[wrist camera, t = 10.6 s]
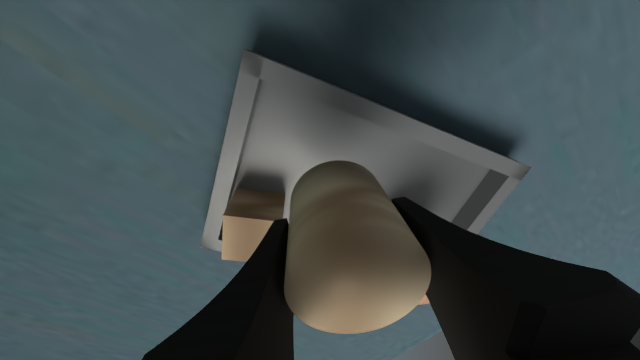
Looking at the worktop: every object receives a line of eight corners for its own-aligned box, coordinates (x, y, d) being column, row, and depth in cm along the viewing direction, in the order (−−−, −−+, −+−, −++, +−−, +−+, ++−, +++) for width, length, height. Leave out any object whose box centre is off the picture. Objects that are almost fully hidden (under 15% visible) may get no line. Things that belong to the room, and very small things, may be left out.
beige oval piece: (390, 163, 12) (450, 229, 7) (372, 240, 14) (410, 332, 9) (292, 157, 12) (286, 224, 7) (288, 238, 14) (282, 334, 9)
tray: (507, 156, 21) (531, 167, 19) (415, 278, 27) (425, 296, 25) (251, 50, 16) (243, 49, 14) (210, 228, 22) (200, 247, 20)
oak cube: (285, 193, 20) (282, 222, 17) (279, 231, 22) (275, 264, 18) (236, 187, 20) (222, 215, 16) (234, 226, 21) (221, 259, 18)
